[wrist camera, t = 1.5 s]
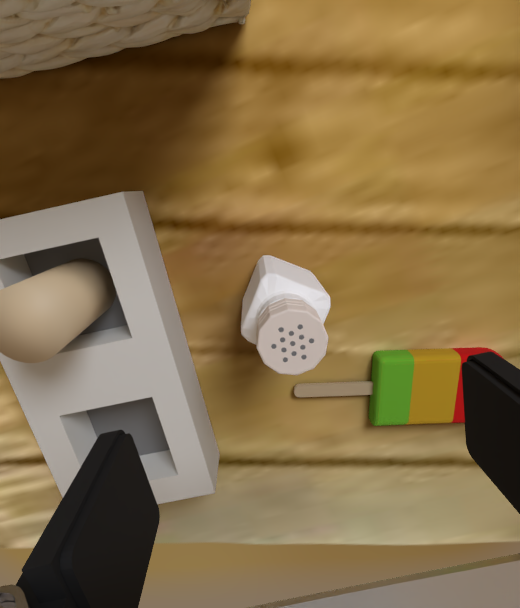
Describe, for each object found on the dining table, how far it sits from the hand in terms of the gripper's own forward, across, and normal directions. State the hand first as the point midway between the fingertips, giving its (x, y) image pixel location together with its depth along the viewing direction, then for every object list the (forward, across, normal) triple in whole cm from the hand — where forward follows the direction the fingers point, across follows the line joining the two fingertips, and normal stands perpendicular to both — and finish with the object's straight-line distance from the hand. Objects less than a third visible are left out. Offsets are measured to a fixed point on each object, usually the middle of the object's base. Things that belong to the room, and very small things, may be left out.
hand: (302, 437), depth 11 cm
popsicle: (+17, -8, +9) cm, 20 cm away
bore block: (+16, +11, +2) cm, 20 cm away
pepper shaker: (+16, -1, 0) cm, 16 cm away
